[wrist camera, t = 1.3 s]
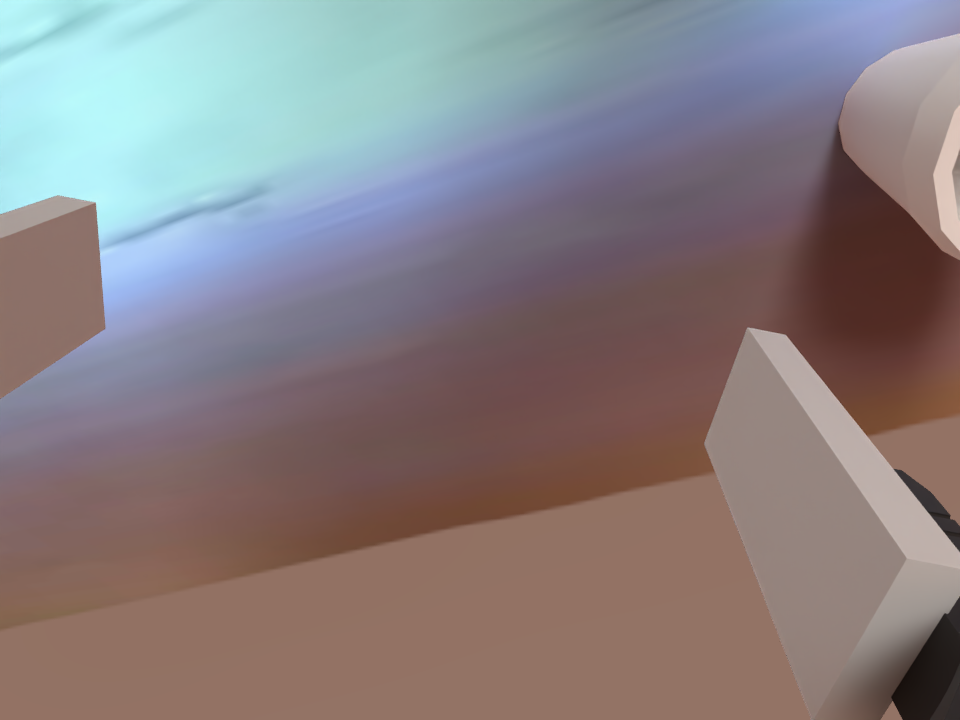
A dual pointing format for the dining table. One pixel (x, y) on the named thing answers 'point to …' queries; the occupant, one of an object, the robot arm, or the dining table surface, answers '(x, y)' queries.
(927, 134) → the foam cup
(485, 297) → the dining table surface
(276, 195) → the dining table surface
